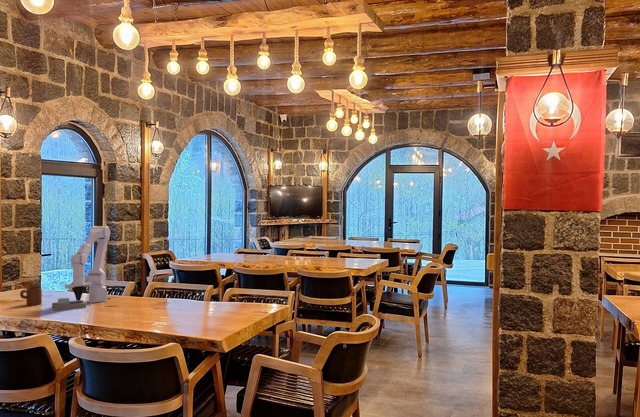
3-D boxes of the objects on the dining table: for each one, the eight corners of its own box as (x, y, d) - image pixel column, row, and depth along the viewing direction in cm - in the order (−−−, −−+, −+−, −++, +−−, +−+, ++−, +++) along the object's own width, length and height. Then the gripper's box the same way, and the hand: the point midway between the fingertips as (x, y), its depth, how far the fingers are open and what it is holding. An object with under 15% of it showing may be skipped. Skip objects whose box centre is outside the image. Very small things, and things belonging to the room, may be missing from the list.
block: (67, 306, 296) (67, 297, 296) (69, 308, 292) (69, 299, 292) (57, 307, 293) (57, 298, 293) (59, 309, 289) (59, 300, 289)
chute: (82, 304, 303) (82, 300, 303) (86, 307, 294) (86, 303, 294) (51, 307, 294) (51, 302, 294) (54, 310, 286) (54, 305, 286)
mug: (24, 307, 292) (24, 290, 292) (15, 306, 296) (15, 289, 296) (44, 304, 303) (44, 287, 303) (35, 302, 306) (35, 286, 306)
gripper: (87, 273, 305) (87, 297, 305) (62, 276, 294) (61, 301, 294) (94, 275, 300) (93, 299, 300) (68, 277, 289) (67, 302, 289)
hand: (78, 300), depth 297 cm, fingers closed
